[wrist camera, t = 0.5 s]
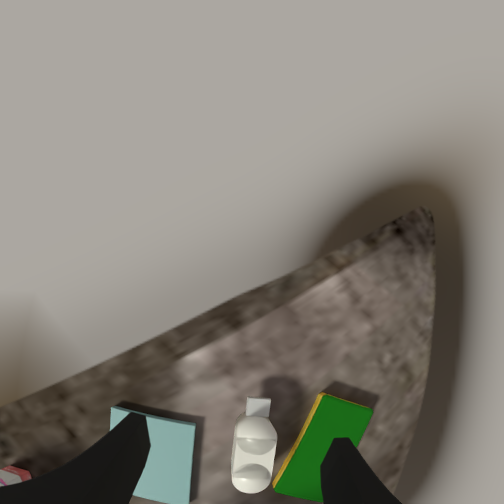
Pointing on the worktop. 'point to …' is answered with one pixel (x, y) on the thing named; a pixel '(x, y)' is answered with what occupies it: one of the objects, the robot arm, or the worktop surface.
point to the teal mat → (164, 458)
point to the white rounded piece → (253, 447)
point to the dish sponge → (319, 444)
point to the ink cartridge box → (13, 475)
